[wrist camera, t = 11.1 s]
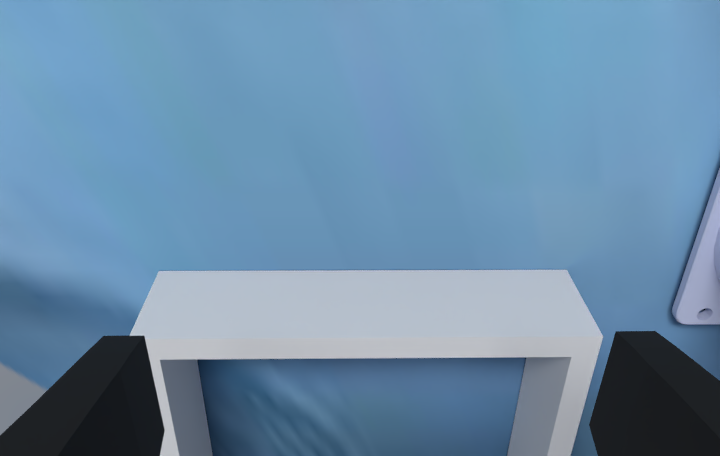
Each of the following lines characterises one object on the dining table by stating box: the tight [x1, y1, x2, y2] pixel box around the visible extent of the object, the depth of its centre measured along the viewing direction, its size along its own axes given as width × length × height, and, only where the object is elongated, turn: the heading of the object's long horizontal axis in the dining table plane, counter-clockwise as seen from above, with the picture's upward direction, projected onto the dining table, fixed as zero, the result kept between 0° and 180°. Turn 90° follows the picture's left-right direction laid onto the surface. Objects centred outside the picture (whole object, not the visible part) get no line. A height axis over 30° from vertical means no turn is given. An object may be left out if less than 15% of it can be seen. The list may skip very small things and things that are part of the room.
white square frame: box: [130, 270, 603, 456], centre depth 23 cm, size 14×14×4 cm
